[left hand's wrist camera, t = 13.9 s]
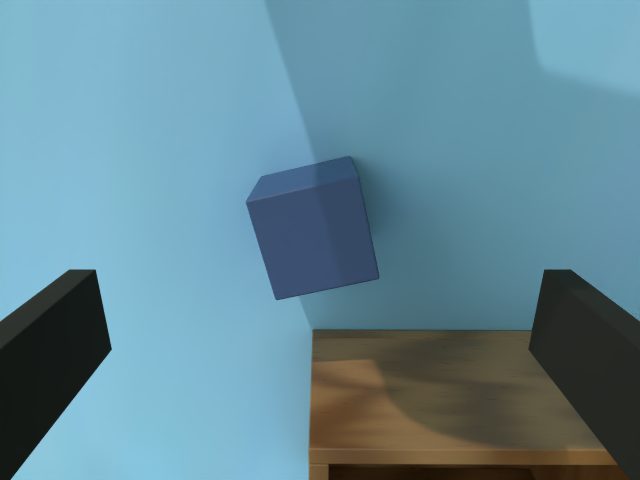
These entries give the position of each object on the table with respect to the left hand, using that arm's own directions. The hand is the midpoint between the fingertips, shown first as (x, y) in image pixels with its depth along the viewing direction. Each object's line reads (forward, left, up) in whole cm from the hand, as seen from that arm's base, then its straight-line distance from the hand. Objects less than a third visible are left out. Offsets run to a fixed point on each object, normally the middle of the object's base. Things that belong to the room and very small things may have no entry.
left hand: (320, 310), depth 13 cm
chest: (+9, -12, -11) cm, 19 cm away
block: (0, 0, -11) cm, 11 cm away
